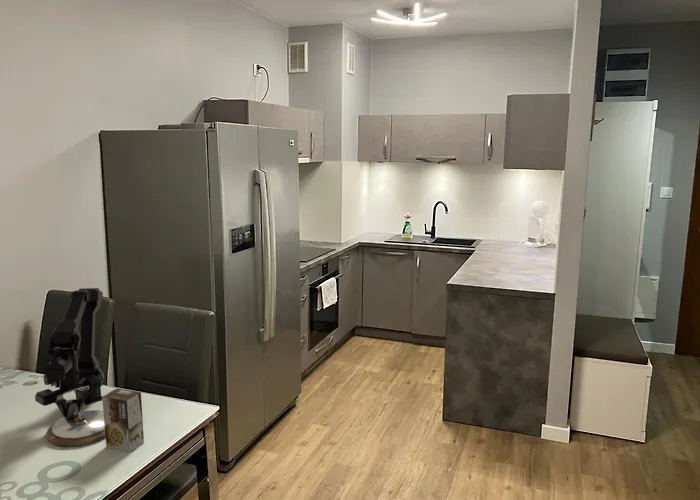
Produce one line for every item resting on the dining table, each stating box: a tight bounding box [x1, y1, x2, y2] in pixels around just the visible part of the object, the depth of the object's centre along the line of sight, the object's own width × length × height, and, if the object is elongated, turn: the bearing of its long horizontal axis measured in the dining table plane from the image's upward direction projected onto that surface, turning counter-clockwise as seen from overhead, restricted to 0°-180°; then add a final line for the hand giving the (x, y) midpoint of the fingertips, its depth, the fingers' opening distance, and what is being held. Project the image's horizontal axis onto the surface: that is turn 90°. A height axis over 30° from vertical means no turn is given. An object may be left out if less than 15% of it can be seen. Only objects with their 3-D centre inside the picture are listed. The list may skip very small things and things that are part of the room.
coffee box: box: [101, 387, 145, 453], centre depth 165 cm, size 9×6×16 cm
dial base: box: [46, 423, 106, 448], centre depth 175 cm, size 20×20×2 cm
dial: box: [52, 398, 105, 440], centre depth 174 cm, size 17×17×6 cm
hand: (71, 414), depth 178 cm, fingers closed on dial, 4 cm apart
